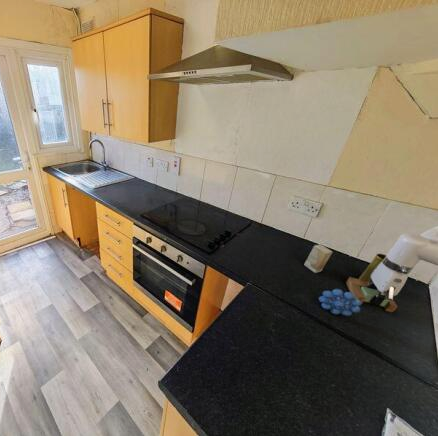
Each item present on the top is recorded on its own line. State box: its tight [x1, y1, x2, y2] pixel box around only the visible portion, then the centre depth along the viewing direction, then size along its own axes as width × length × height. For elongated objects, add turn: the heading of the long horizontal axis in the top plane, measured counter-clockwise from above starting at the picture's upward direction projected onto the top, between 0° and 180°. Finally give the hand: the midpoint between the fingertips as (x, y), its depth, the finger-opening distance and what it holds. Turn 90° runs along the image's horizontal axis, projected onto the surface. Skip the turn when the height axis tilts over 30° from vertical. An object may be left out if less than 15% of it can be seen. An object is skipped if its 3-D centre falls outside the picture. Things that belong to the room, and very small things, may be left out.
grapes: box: [318, 288, 363, 317], centre depth 85 cm, size 12×7×12 cm, turn 46°
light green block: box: [361, 286, 389, 307], centre depth 92 cm, size 7×5×4 cm
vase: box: [358, 253, 387, 282], centre depth 99 cm, size 6×6×14 cm
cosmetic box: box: [303, 243, 333, 274], centre depth 107 cm, size 6×4×12 cm
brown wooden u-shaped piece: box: [345, 276, 398, 313], centre depth 94 cm, size 12×12×4 cm
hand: (371, 298), depth 93 cm, fingers closed on light green block, 5 cm apart
